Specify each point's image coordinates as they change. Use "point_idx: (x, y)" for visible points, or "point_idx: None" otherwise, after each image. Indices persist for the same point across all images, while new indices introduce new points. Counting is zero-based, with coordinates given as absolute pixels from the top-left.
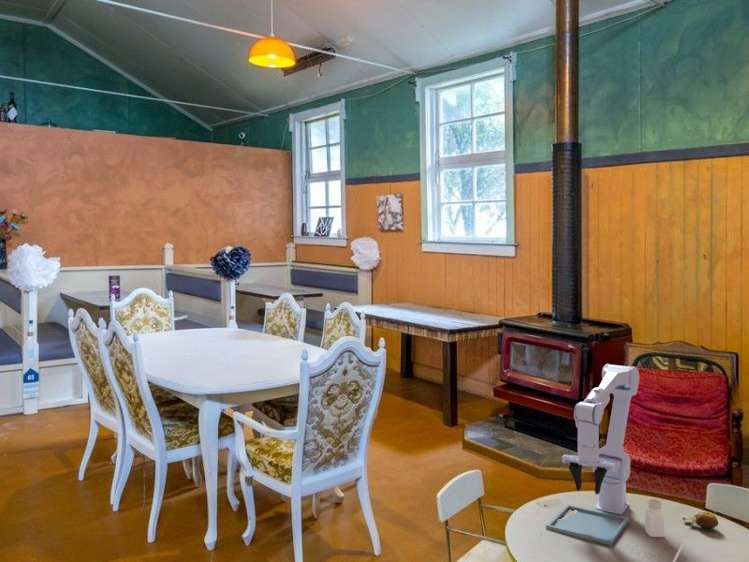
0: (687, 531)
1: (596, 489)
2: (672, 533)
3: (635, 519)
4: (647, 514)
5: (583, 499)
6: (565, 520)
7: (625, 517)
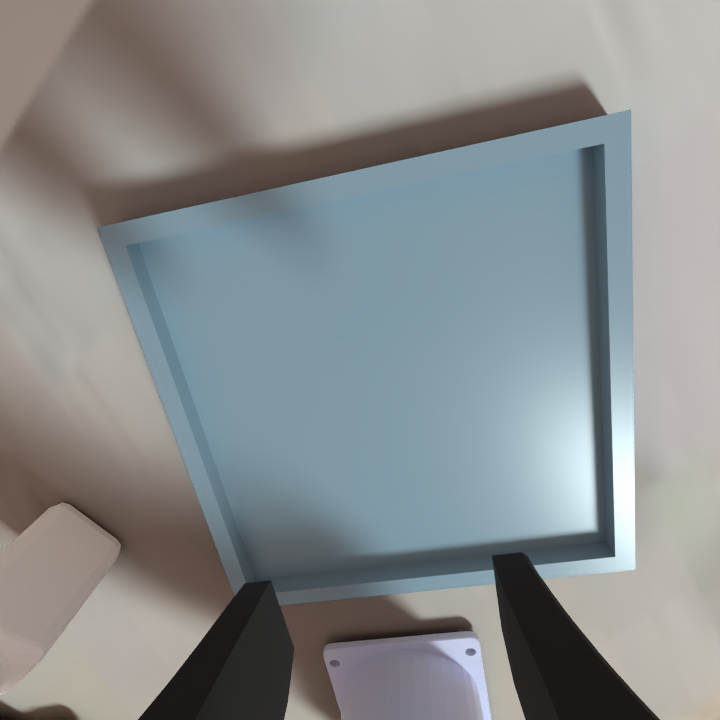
0: None
1: (223, 630)
2: None
3: None
4: (7, 619)
5: None
6: (547, 363)
7: None
